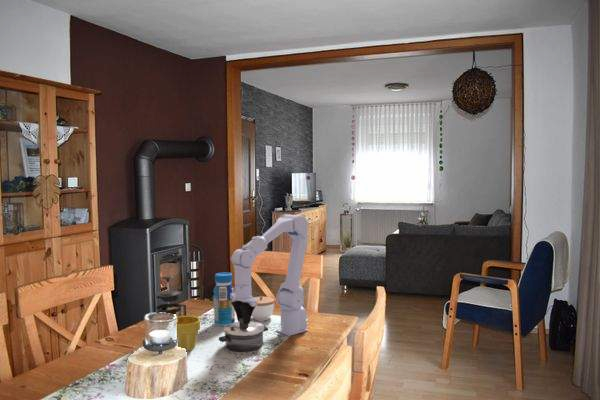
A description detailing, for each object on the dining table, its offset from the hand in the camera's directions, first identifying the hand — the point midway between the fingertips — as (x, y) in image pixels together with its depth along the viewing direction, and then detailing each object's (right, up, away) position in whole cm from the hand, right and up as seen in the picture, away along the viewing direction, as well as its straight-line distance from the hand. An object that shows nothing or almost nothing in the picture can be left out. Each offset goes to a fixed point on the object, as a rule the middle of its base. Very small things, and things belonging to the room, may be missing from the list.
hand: (243, 322), depth 173 cm
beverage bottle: (-11, -7, +25) cm, 28 cm away
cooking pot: (0, -8, 0) cm, 8 cm away
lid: (0, -3, 0) cm, 3 cm away
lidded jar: (+4, -6, +31) cm, 32 cm away
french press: (-28, -8, +8) cm, 30 cm away
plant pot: (-20, -9, -1) cm, 22 cm away
